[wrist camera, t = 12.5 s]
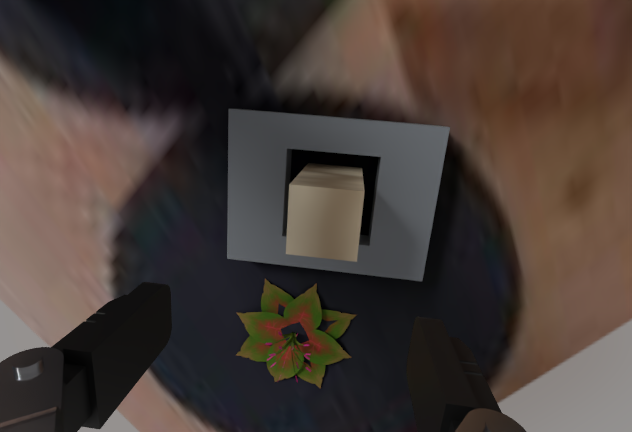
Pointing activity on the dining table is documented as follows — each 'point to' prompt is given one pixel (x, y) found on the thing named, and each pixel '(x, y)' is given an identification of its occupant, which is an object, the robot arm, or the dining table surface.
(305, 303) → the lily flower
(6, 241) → the dining table surface
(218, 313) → the dining table surface
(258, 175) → the dock plate
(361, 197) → the peg
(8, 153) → the dining table surface
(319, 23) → the dining table surface
